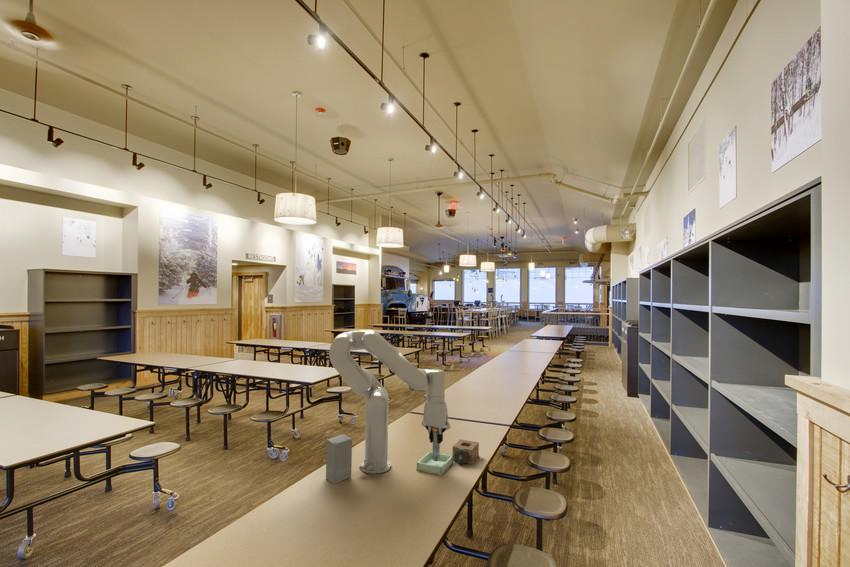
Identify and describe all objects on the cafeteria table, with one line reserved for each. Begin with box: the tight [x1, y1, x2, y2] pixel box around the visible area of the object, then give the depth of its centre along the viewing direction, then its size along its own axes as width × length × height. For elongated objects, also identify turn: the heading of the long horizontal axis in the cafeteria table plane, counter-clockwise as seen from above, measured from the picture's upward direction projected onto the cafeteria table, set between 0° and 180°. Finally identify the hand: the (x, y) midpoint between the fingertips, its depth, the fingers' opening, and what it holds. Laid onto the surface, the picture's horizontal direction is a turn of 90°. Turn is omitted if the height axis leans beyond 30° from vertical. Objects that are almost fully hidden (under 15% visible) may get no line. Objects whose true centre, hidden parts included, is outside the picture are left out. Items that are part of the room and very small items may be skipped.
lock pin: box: [432, 427, 441, 461], centre depth 164 cm, size 4×4×14 cm
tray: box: [416, 451, 454, 476], centre depth 163 cm, size 13×11×3 cm
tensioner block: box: [452, 439, 480, 465], centre depth 171 cm, size 13×9×6 cm
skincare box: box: [325, 433, 353, 485], centre depth 152 cm, size 8×7×16 cm
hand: (436, 441), depth 164 cm, fingers closed on lock pin, 3 cm apart
